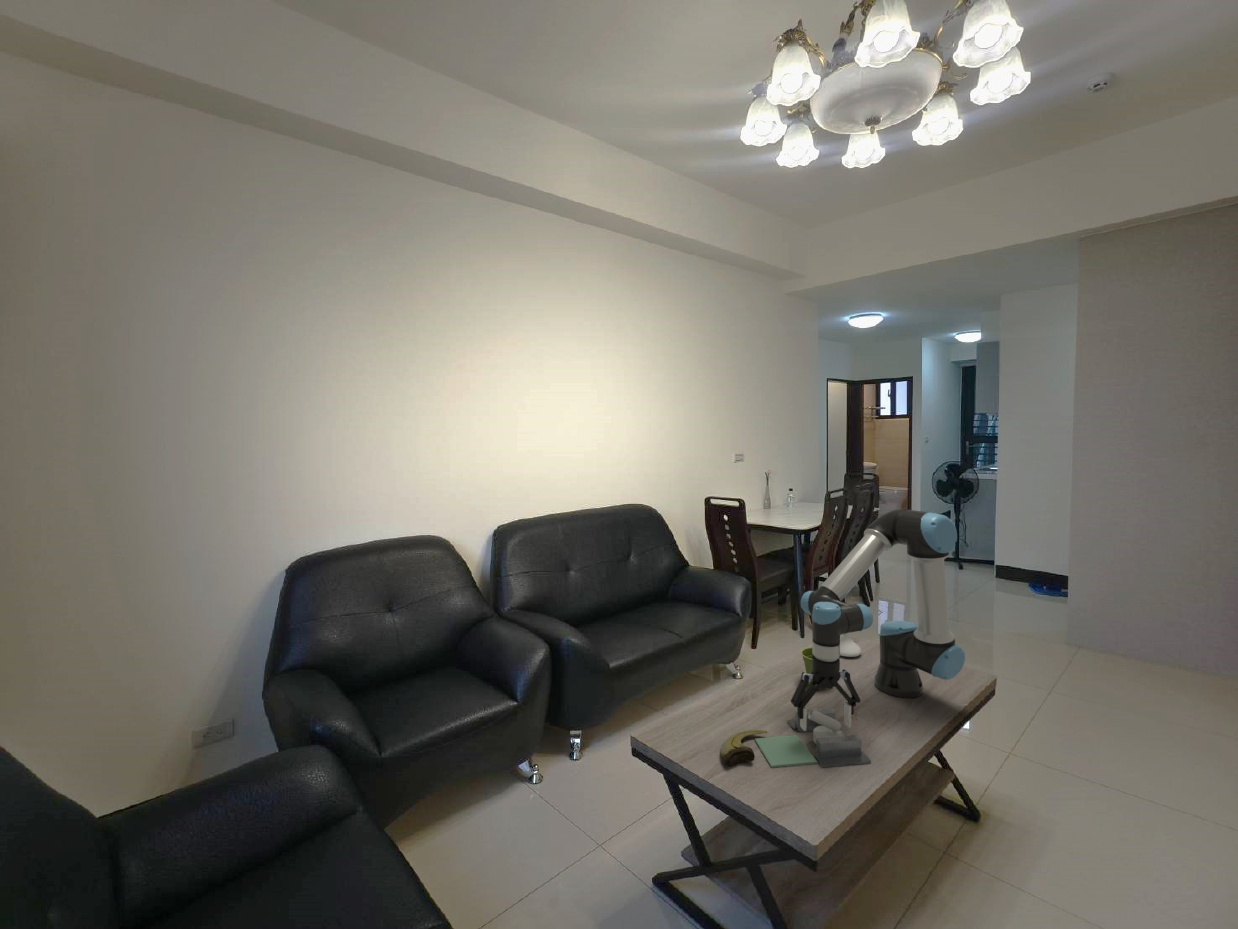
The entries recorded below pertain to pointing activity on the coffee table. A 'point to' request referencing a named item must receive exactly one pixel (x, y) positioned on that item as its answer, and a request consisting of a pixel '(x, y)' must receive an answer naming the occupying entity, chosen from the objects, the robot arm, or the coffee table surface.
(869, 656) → the coffee table surface
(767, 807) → the coffee table surface
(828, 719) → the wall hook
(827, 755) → the vise
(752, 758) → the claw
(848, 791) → the coffee table surface
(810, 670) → the plant pot
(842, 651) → the flower in vase
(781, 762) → the felt pad
